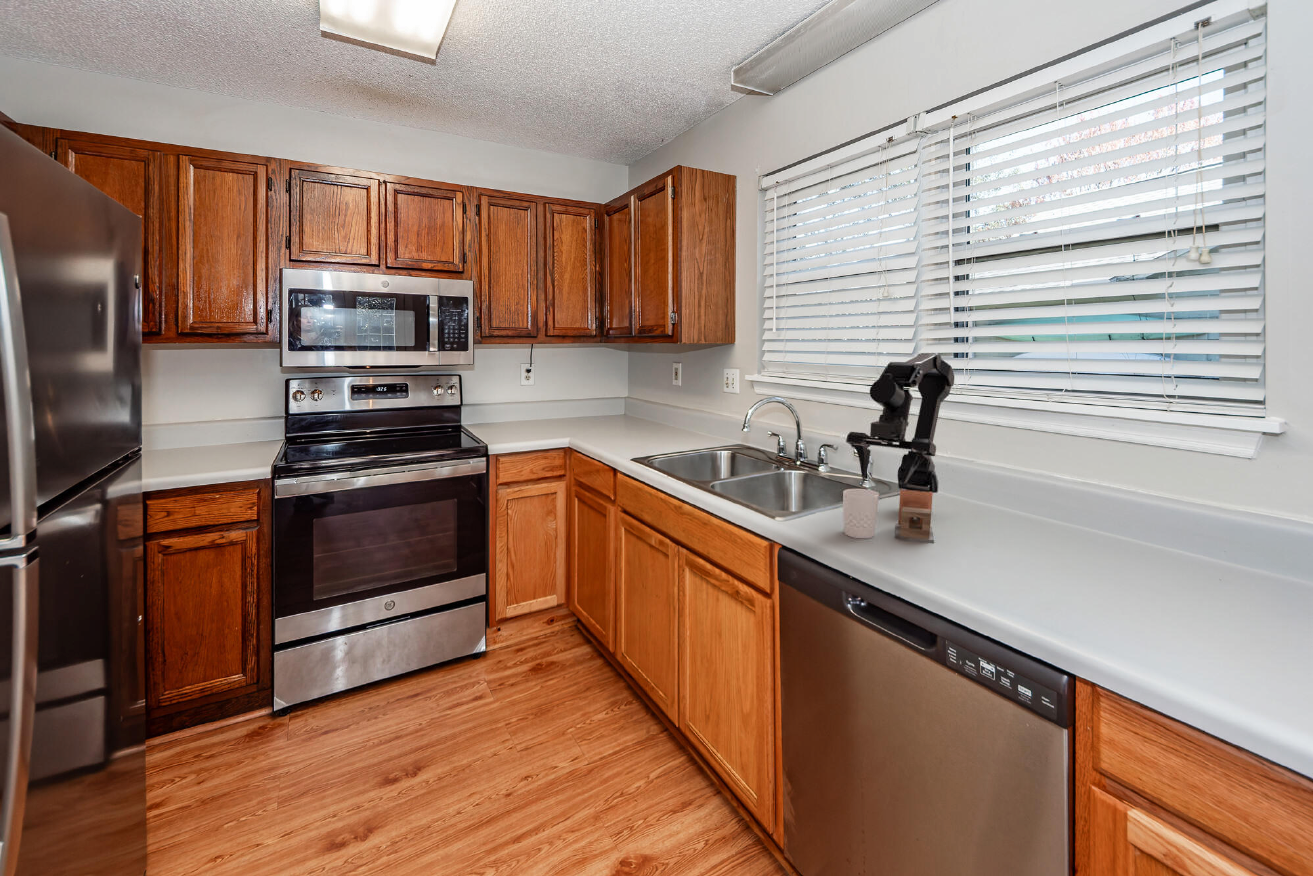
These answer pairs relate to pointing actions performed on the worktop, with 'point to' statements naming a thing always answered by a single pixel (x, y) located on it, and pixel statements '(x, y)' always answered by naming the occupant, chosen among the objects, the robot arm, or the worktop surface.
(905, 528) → the bearing block
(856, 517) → the white cup
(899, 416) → the robot arm
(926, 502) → the copper wooden slab
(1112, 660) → the worktop surface
